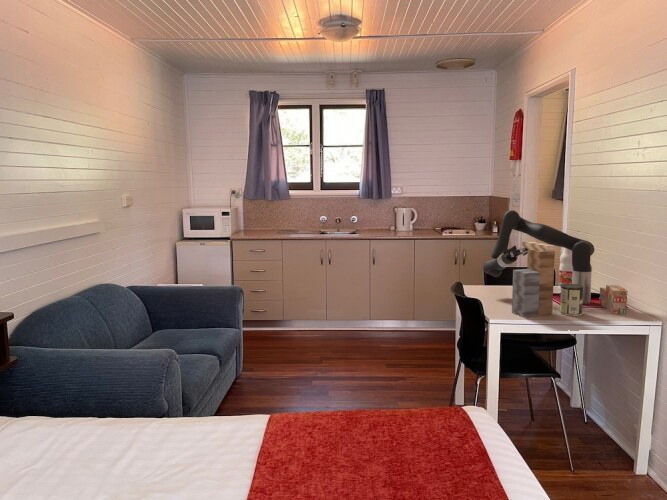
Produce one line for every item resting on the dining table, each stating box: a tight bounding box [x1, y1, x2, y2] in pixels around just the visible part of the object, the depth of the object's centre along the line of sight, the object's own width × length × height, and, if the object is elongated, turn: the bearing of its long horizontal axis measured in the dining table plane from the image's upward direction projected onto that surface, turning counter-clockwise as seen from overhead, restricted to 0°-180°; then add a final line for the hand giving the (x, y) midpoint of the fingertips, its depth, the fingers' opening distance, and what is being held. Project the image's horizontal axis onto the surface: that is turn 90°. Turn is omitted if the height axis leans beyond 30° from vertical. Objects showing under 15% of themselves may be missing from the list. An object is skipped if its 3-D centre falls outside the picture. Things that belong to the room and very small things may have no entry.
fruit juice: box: [558, 248, 573, 291], centre depth 308 cm, size 9×9×28 cm
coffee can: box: [559, 284, 584, 317], centre depth 256 cm, size 10×10×14 cm
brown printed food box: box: [599, 284, 628, 315], centre depth 263 cm, size 21×6×12 cm, turn 169°
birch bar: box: [521, 240, 555, 252], centre depth 256 cm, size 20×4×3 cm, turn 15°
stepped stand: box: [511, 249, 556, 318], centre depth 255 cm, size 10×16×32 cm, turn 105°
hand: (522, 246), depth 268 cm, fingers open, 8 cm apart
